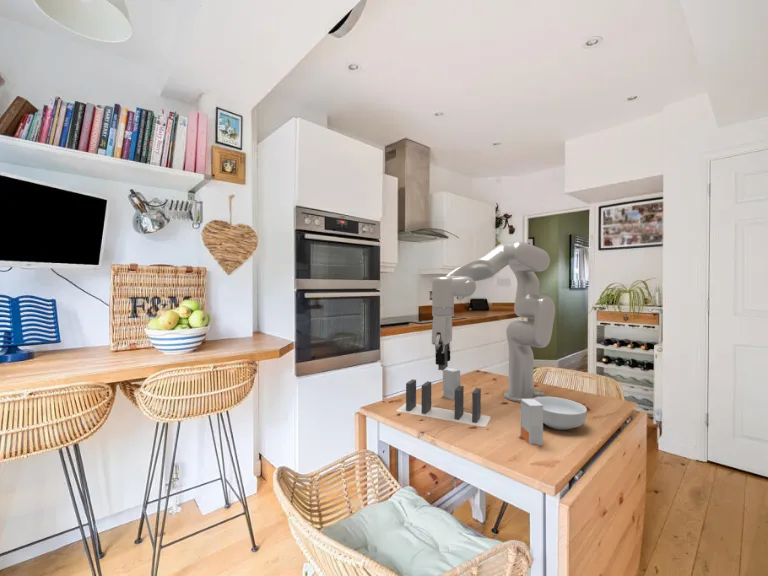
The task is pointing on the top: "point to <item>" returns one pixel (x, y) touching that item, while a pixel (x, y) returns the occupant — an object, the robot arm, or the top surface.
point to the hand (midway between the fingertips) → (443, 362)
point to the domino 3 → (442, 367)
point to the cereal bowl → (562, 412)
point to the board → (446, 415)
